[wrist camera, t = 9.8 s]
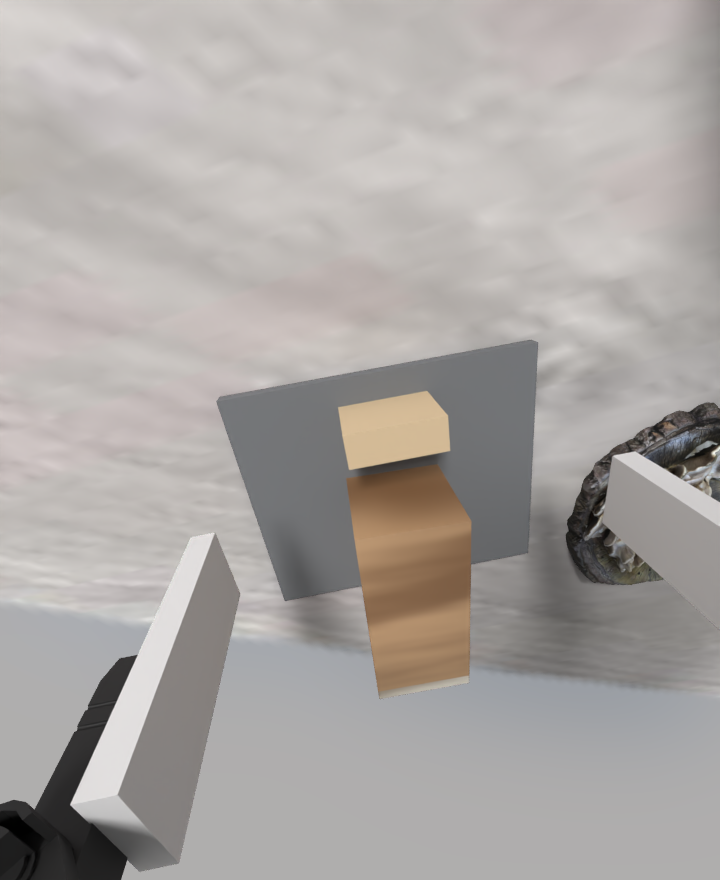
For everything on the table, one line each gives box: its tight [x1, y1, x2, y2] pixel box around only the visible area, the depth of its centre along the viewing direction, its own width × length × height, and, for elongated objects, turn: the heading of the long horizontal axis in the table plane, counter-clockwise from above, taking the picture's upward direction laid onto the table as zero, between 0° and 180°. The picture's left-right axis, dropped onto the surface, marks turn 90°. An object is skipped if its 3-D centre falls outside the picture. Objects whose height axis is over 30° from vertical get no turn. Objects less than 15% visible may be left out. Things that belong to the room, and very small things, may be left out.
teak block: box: [346, 464, 471, 699], centre depth 19 cm, size 4×4×10 cm
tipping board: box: [216, 340, 538, 601], centre depth 18 cm, size 12×14×4 cm
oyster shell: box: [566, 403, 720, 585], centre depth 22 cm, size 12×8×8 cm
